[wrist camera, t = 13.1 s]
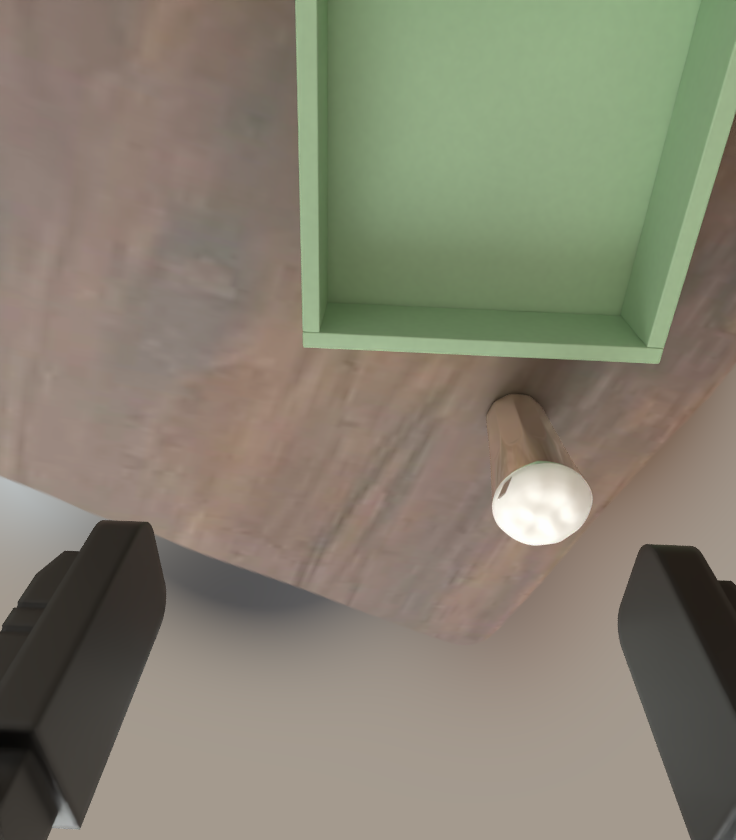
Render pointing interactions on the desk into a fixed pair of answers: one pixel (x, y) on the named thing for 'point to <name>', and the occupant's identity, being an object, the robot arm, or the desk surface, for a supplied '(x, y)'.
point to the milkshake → (533, 474)
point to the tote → (506, 171)
